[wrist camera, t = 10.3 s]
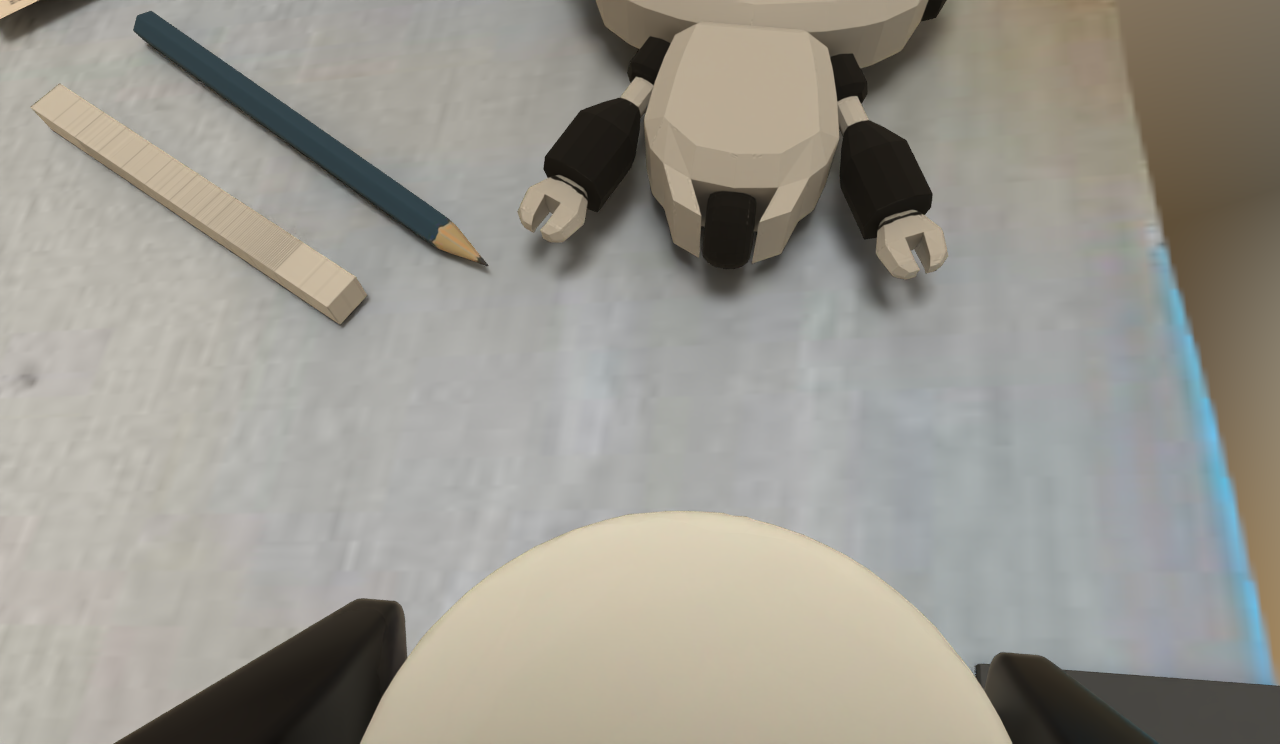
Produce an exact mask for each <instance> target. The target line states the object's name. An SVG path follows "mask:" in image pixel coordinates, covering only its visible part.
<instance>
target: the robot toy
mask: <svg viewBox="0 0 1280 744" xmlns="http://www.w3.org/2000/svg"><path fill="white" fill-rule="evenodd" d="M945 2H946V0H596V3H597V5H598V8H599V11H600V14H601V16H602V19H603V22H604V25H605V26H606V27H607V28H608V29H610V30H611V31H612V32H614V33H615V34H616V35H618V36H619V37H620V38H622V39H623V40H624V41H626V42H627V43H628V44H630V45H632V46H634V47H636V48H638V49H640V50H639V51H638V52H637V53H636V55H635V56H634V57H633V59H632V60H631V61H630V65H629V68H628V72H627V73H628V77H629V80H630V83H631V84H630V85H629V87H628V88H627V89H626V91H625V92H624V93H623V94H622V96H621V97H620V98H617V99H613V100H609V101H606V102H602V103H600V104H597V105H594V106H591V107H589V108H586V109H583V110H581V111H580V112H579V113H578V115H577V116H576V117H575V118H574V120H573V121H572V122H571V124H570V125H569V126H568V127H567V129H566V130H565V131H564V133H563V134H562V135H561V137H560V138H559V139H558V140H557V142H556V143H555V144H554V146H553V147H552V148H551V149H550V151H549V152H548V153H547V155H546V156H545V161H544V171H545V173H546V175H547V177H548V178H547V179H545V180H543V181H541V182H539V183H537V184H535V185H533V186H531V187H530V188H529V189H528V190H527V192H526V194H525V196H524V199H523V201H522V203H521V205H520V207H519V209H518V215H519V217H520V220H521V223H522V224H523V226H524V227H525V228H526V229H528V230H530V231H531V232H533V233H534V232H535V230H536V228H537V227H538V226H539V224H540V223H541V222H542V221H543V220H544V218H545V217H546V216H547V215H548V214H549V212H551V213H552V214H553V215H552V216H551V218H550V219H549V220H548V222H547V223H546V224H545V225H544V227H543V228H542V229H541V230H540V231H541V233H542V238H544V239H545V240H547V241H549V242H551V243H557V242H564V241H565V240H566V239H567V238H569V237H570V236H571V235H572V234H573V233H574V232H576V231H577V230H578V229H579V228H580V227H581V226H582V225H583V224H584V222H585V215H586V209H590V210H593V211H595V212H599V210H600V209H601V208H602V206H603V205H604V204H605V202H606V201H607V200H608V198H609V197H610V195H611V194H612V193H613V191H614V190H615V189H616V187H617V186H618V185H619V183H620V182H621V181H622V179H623V178H624V176H625V175H626V174H627V172H628V171H629V170H630V168H631V166H632V163H633V161H634V158H635V154H636V148H637V142H638V136H639V130H640V118H641V117H642V116H643V114H644V113H645V112H646V115H645V118H644V132H645V150H646V169H647V173H648V178H649V182H650V186H651V191H652V194H653V196H654V197H655V198H656V199H657V200H658V202H659V203H660V204H661V205H662V206H663V208H664V209H665V213H666V217H667V221H668V224H669V228H670V232H671V236H672V239H673V243H675V244H676V245H678V246H680V247H681V248H683V249H685V250H686V251H688V252H690V253H691V254H693V255H695V256H696V257H698V258H699V251H700V233H701V226H704V237H703V248H702V252H703V257H704V258H705V260H706V261H707V262H708V263H710V264H711V265H713V266H715V267H718V268H723V269H735V268H738V267H741V266H743V265H744V264H746V263H747V262H748V260H749V258H750V255H751V249H752V242H753V235H754V232H758V233H757V238H756V244H755V249H754V255H753V260H752V263H755V262H758V261H761V260H764V259H767V258H770V257H773V256H776V255H779V254H781V253H782V251H783V249H784V247H785V245H786V243H787V241H788V240H789V238H790V236H791V234H792V232H793V230H794V228H795V226H796V225H797V223H798V221H800V220H801V219H802V218H804V217H805V216H806V215H808V214H809V213H810V212H811V211H813V210H814V208H815V206H816V204H817V202H818V200H819V198H820V195H821V193H822V191H823V189H824V187H825V185H826V181H827V178H828V175H829V171H830V168H831V165H832V161H833V158H834V154H835V151H836V148H837V144H838V141H839V129H840V131H841V134H842V136H843V141H842V148H841V162H840V183H841V189H842V191H843V193H844V196H845V198H846V200H847V202H848V205H849V207H850V209H851V211H852V213H853V216H854V218H855V220H856V222H857V225H858V227H859V229H860V231H861V233H862V236H863V238H864V239H871V238H877V244H876V255H877V256H878V258H879V259H880V260H881V262H882V263H883V264H884V265H885V267H886V268H887V269H888V271H889V272H890V273H891V275H892V276H893V277H896V278H900V279H905V280H907V279H910V278H913V277H916V274H917V273H918V271H919V270H920V269H919V267H918V265H917V264H916V262H915V260H914V258H913V255H912V253H911V251H910V250H913V249H914V250H915V252H916V253H917V255H918V257H919V259H920V261H921V263H922V265H923V267H924V269H925V273H926V274H927V273H930V272H933V271H936V270H937V269H938V268H940V267H941V266H942V265H943V263H944V261H945V260H946V258H947V257H948V252H947V247H946V243H945V238H944V234H943V231H942V229H941V228H940V227H939V226H938V225H936V224H935V223H934V222H932V221H931V220H930V219H928V218H927V217H926V216H924V215H925V214H926V213H927V211H928V210H929V209H930V208H931V203H932V192H931V190H930V188H929V186H928V184H927V181H926V179H925V177H924V175H923V173H922V171H921V169H920V167H919V165H918V163H917V161H916V159H915V157H914V155H913V153H912V151H911V149H910V147H909V145H908V143H907V141H906V140H905V139H903V138H901V137H900V136H898V135H896V134H895V133H893V132H891V131H889V130H888V129H886V128H884V127H882V126H880V125H878V124H876V123H874V122H872V121H869V120H868V117H867V115H866V113H865V111H864V109H863V107H862V105H861V103H862V102H863V100H864V99H865V97H866V95H867V81H866V79H865V77H864V75H863V73H862V71H861V69H860V68H863V67H867V66H871V65H873V64H875V63H877V62H879V61H881V60H884V59H886V58H888V57H890V56H892V55H894V54H896V53H898V52H900V51H902V49H903V48H904V46H905V44H906V43H907V41H908V40H909V38H910V37H911V35H912V34H913V32H914V31H915V29H916V28H917V26H918V25H919V23H920V22H921V21H925V20H929V19H933V18H936V17H937V15H938V13H939V12H940V10H941V9H942V7H943V5H944V4H945ZM646 110H647V111H646Z"/></svg>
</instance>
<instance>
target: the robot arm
mask: <svg viewBox="0 0 1280 744" xmlns="http://www.w3.org/2000/svg"><path fill="white" fill-rule="evenodd" d="M406 659H407V646H406V629H405V616H404V611H403V608H402V606H401V605H400V604H399V603H398V602H396V601H388V600H377V599H365V598H361V599H356V600H354V601H352V602H350V603H349V604H347V605H345V606H344V607H342V608H340V609H339V610H337V611H335V612H334V613H332V614H330V615H329V616H327V617H325V618H324V619H322V620H320V621H318V622H317V623H315V624H313V625H312V626H310V627H308V628H307V629H305V630H303V631H302V632H300V633H298V634H297V635H295V636H293V637H292V638H290V639H288V640H287V641H285V642H283V643H282V644H280V645H278V646H277V647H275V648H273V649H272V650H270V651H268V652H267V653H265V654H263V655H261V656H260V657H258V658H256V659H255V660H253V661H251V662H250V663H248V664H246V665H245V666H243V667H241V668H240V669H238V670H236V671H235V672H233V673H231V674H230V675H228V676H226V677H225V678H223V679H221V680H220V681H218V682H216V683H215V684H213V685H211V686H210V687H208V688H206V689H204V690H203V691H201V692H199V693H198V694H196V695H194V696H193V697H191V698H189V699H188V700H186V701H184V702H183V703H181V704H179V705H178V706H176V707H174V708H173V709H171V710H169V711H168V712H166V713H164V714H163V715H161V716H159V717H158V718H156V719H154V720H153V721H151V722H149V723H147V724H146V725H144V726H142V727H141V728H139V729H137V730H136V731H134V732H132V733H131V734H129V735H127V736H126V737H124V738H122V739H121V740H119V741H117V742H116V743H114V744H360V742H361V740H362V738H363V736H364V734H365V732H366V730H367V728H368V725H369V723H370V721H371V719H372V717H373V715H374V713H375V711H376V709H377V706H378V704H379V702H380V700H381V698H382V696H383V695H384V693H385V691H386V690H387V688H388V687H389V685H390V683H391V682H392V680H393V678H394V677H395V675H396V674H397V672H398V671H399V669H400V668H401V666H402V665H403V664H404V662H405V661H406ZM984 691H985V693H986V695H987V696H988V698H989V700H990V702H991V703H992V705H993V707H994V708H995V710H996V712H997V714H998V715H999V717H1000V719H1001V721H1002V723H1003V725H1004V727H1005V729H1006V731H1007V733H1008V735H1009V737H1010V739H1011V741H1012V744H1159V743H1158V742H1157V741H1155V740H1154V739H1153V738H1151V737H1150V736H1149V735H1148V734H1146V733H1145V732H1144V731H1142V730H1141V729H1140V728H1138V727H1137V726H1136V725H1134V724H1133V723H1132V722H1130V721H1129V720H1128V719H1126V718H1125V717H1124V716H1122V715H1121V714H1120V713H1118V712H1117V711H1116V710H1114V709H1113V708H1112V707H1111V706H1109V705H1108V704H1107V703H1105V702H1104V701H1103V700H1101V699H1100V698H1099V697H1097V696H1096V695H1095V694H1093V693H1092V692H1091V691H1089V690H1088V689H1087V688H1085V687H1084V686H1083V685H1081V684H1080V683H1079V682H1077V681H1076V680H1075V679H1073V678H1072V677H1071V676H1070V675H1068V674H1067V673H1066V672H1064V671H1063V670H1062V669H1060V668H1059V667H1058V666H1056V665H1055V664H1054V663H1052V662H1051V661H1050V660H1048V659H1047V658H1045V657H1043V656H1039V655H1030V654H1018V653H1006V652H1002V653H999V654H997V655H996V656H994V658H993V660H992V662H991V664H990V667H989V671H988V676H987V680H986V685H985V689H984Z"/></svg>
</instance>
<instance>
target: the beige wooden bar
mask: <svg viewBox="0 0 1280 744" xmlns="http://www.w3.org/2000/svg"><path fill="white" fill-rule="evenodd" d="M31 108H32V109H33V110H34V111H35V113H36V114H37V115H38V116H39V117H40V118H41V119H42V120H43V121H44V122H45V123H46V124H47V125H48V126H49V127H50V128H51V129H52V130H53V131H55V132H56V133H58V134H59V135H61V136H62V137H64V138H65V139H67V140H68V141H69V142H71V143H72V144H74V145H75V146H77V147H78V148H80V149H81V150H83V151H84V152H86V153H87V154H89V155H90V156H92V157H93V158H95V159H96V160H98V161H99V162H100V163H102V164H103V165H105V166H106V167H108V168H109V169H111V170H112V171H114V172H115V173H117V174H118V175H120V176H121V177H123V178H124V179H126V180H127V181H128V182H130V183H131V184H133V185H134V186H136V187H137V188H139V189H140V190H142V191H143V192H145V193H146V194H148V195H149V196H151V197H152V198H154V199H155V200H157V201H158V202H159V203H161V204H162V205H164V206H165V207H167V208H168V209H170V210H171V211H173V212H174V213H176V214H177V215H179V216H180V217H182V218H183V219H185V220H186V221H188V222H189V223H190V224H192V225H193V226H195V227H196V228H198V229H199V230H201V231H202V232H204V233H205V234H207V235H208V236H210V237H211V238H213V239H214V240H216V241H217V242H219V243H220V244H221V245H223V246H224V247H226V248H227V249H229V250H230V251H232V252H233V253H235V254H236V255H238V256H239V257H241V258H242V259H244V260H245V261H247V262H248V263H250V264H251V265H252V266H254V267H255V268H257V269H258V270H260V271H261V272H263V273H264V274H266V275H267V276H269V277H270V278H272V279H273V280H275V281H276V282H278V283H279V284H280V285H282V286H283V287H285V288H286V289H288V290H289V291H291V292H292V293H294V294H295V295H297V296H298V297H300V298H301V299H303V300H304V301H306V302H307V303H309V304H310V305H311V306H313V307H314V308H316V309H317V310H319V311H320V312H322V313H323V314H325V315H326V316H328V317H329V318H331V319H332V320H334V321H335V322H337V323H338V324H341V323H342V322H343V321H344V320H345V319H346V318H347V317H348V316H349V315H350V313H351V312H352V311H353V310H354V309H355V308H356V307H357V306H358V305H359V304H360V303H361V302H362V301H363V300H364V299H365V297H366V296H367V294H366V293H365V291H364V289H363V288H362V286H361V284H360V283H359V281H358V280H357V278H356V277H355V276H354V275H352V274H351V273H349V272H347V271H346V270H344V269H343V268H341V267H340V266H338V265H337V264H335V263H334V262H332V261H331V260H329V259H328V258H326V257H325V256H323V255H321V254H320V253H318V252H317V251H315V250H314V249H312V248H311V247H309V246H308V245H306V244H305V243H303V242H302V241H300V240H298V239H297V238H295V237H294V236H292V235H291V234H289V233H288V232H286V231H285V230H283V229H282V228H280V227H279V226H277V225H276V224H274V223H272V222H271V221H269V220H268V219H266V218H265V217H263V216H262V215H260V214H259V213H257V212H256V211H254V210H253V209H251V208H250V207H248V206H246V205H245V204H243V203H242V202H240V201H239V200H237V199H236V198H234V197H233V196H231V195H230V194H228V193H227V192H225V191H224V190H222V189H220V188H219V187H217V186H216V185H214V184H213V183H211V182H210V181H208V180H207V179H205V178H204V177H202V176H201V175H199V174H198V173H196V172H194V171H193V170H191V169H190V168H188V167H187V166H185V165H184V164H182V163H181V162H179V161H178V160H176V159H175V158H173V157H172V156H170V155H168V154H167V153H165V152H164V151H162V150H161V149H159V148H158V147H156V146H155V145H153V144H152V143H150V142H149V141H147V140H145V139H144V138H142V137H141V136H139V135H138V134H136V133H135V132H133V131H132V130H130V129H129V128H127V127H126V126H124V125H123V124H121V123H119V122H118V121H116V120H115V119H113V118H112V117H110V116H109V115H107V114H106V113H104V112H103V111H101V110H100V109H98V108H97V107H95V106H93V105H92V104H90V103H89V102H87V101H86V100H84V99H83V98H81V97H80V96H78V95H77V94H75V93H74V92H72V91H71V90H69V89H67V88H66V87H64V86H63V85H61V84H60V83H59V84H58V85H57V86H56V87H54V88H53V89H52V90H51V91H49V92H48V93H47V94H46V95H44V96H43V97H42V98H41V99H40V100H38V101H37V102H36V103H35V104H33V105H32V106H31Z"/></svg>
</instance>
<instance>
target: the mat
mask: <svg viewBox="0 0 1280 744" xmlns="http://www.w3.org/2000/svg"><path fill="white" fill-rule="evenodd" d="M989 667H990V664H978V665H976V672H977V681H978V682H979V684H980V685H981V687H982V688H983V690H984V689H985V685H986V680H987V676H988V671H989ZM1063 671H1064V672H1066V673H1067V674H1068V675H1070V676H1071V677H1072V678H1073V679H1075V680H1076V681H1077V682H1079V683H1080V684H1081V685H1083V686H1084V687H1085V688H1087V689H1088V690H1089V691H1091V692H1092V693H1093V694H1095V695H1096V696H1097V697H1099V698H1100V699H1101V700H1103V701H1104V702H1105V703H1107V704H1108V705H1109V706H1111V707H1112V708H1113V709H1114V710H1116V711H1117V712H1118V713H1120V714H1121V715H1122V716H1124V717H1125V718H1126V719H1128V720H1129V721H1130V722H1132V723H1133V724H1134V725H1136V726H1137V727H1138V728H1140V729H1141V730H1142V731H1144V732H1145V733H1146V734H1148V735H1149V736H1150V737H1151V738H1153V739H1154V740H1155V741H1157V742H1158V743H1159V744H1280V686H1273V685H1260V684H1246V683H1233V682H1220V681H1206V680H1193V679H1179V678H1166V677H1153V676H1139V675H1126V674H1112V673H1099V672H1086V671H1072V670H1063Z"/></svg>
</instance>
